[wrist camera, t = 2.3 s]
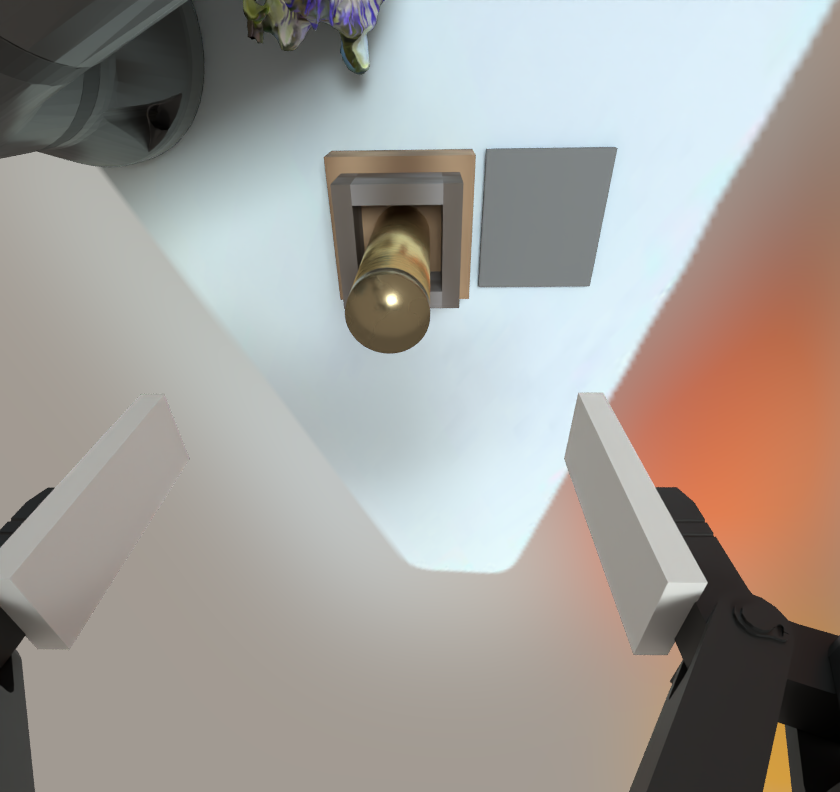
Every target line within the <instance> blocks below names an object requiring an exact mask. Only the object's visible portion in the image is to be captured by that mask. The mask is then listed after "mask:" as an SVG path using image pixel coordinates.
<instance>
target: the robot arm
mask: <svg viewBox="0 0 840 792" xmlns="http://www.w3.org/2000/svg"><path fill="white" fill-rule="evenodd" d="M203 79H204V56H203V46H202V39H201V34H200V29H199V24H198V20H197V17H196V13H195V10H194V7H193V4H192V1H191V0H0V158H6V157H11V156H16V155H21V154H26V153H31V152H35V151H38V152H41V153H45V154H48V155H52V156H55V157H59V158H63V159H66V160H70V161H73V162H77V163H81V164H86V165H91V166H101V167H116V166H125V165H130V164H134V163H138V162H141V161H145V160H148V159H151V158H154V157H156V156H158V155H160V154H162V153H164V152H166V151H167V150H169V149H170V148H171V147H173V146H174V145H175V144H176V143H177V142H178V141H179V140H180V139H181V138H182V137H183V135H184V134H185V133H186V131H187V130H188V128H189V127H190V125H191V123H192V121H193V119H194V117H195V115H196V112H197V109H198V106H199V103H200V99H201V94H202V88H203ZM189 459H190V458H189V455H188V453H187V450H186V448H185V445H184V443H183V440H182V438H181V435H180V432H179V430H178V427H177V425H176V422H175V420H174V417H173V415H172V412H171V410H170V407H169V404H168V402H167V399H166V397H165V394H140V396H139V397H138V398H137V399H136V400H135V401H134V402H133V403H132V404H131V405H130V407H129V408H128V409H127V410H126V411H125V412H124V413H123V414H122V415H121V416H120V417H119V419H118V420H117V421H116V422H115V423H114V424H113V425H112V426H111V428H109V429H108V431H107V432H106V433H105V434H104V435H103V436H102V437H101V438H100V439H99V440H98V441H97V443H96V444H95V445H94V446H93V447H92V448H91V449H90V450H89V451H88V452H87V453H86V455H85V456H84V457H83V458H82V459H81V460H80V461H79V462H78V463H77V464H76V466H75V467H74V468H73V469H72V470H71V471H70V472H69V473H68V475H67V476H66V477H65V478H64V479H63V480H62V481H61V482H60V483H59V484H58V485H57V486H56V488H47V489H45V490H44V491H42V492H41V493H39V494H38V495H36V496H35V497H33V498H32V499H30V500H29V501H27V502H26V503H25V504H24V506H22V507H21V509H19V511H18V512H17V513H16V514H15V515H14V516H13V517H12V518H11V521H10V522H7V523H6V524H5V525H4V526H3V527H2V529H0V792H35V789H34V779H33V769H32V759H31V749H30V739H29V730H28V719H27V709H26V700H25V690H24V680H23V670H22V660H21V657H20V655H19V653H18V652H17V650H16V648H17V646H18V645H19V644H20V642H21V641H22V639H23V638H24V636H26V637H27V638H28V639H29V640H30V641H31V642H32V643H33V644H34V646H35V647H36V648H37V649H70V648H71V646H72V645H73V643H74V642H75V640H76V639H77V637H78V635H79V634H80V632H81V631H82V629H83V627H84V626H85V624H86V623H87V621H88V620H89V618H90V616H91V614H92V613H93V612H94V610H95V608H96V607H97V605H98V604H99V602H100V600H101V599H102V597H103V596H104V594H105V593H106V591H107V589H108V588H109V586H110V585H111V583H112V581H113V580H114V578H115V577H116V575H117V573H118V572H119V570H120V569H121V567H122V565H123V564H124V562H125V561H126V559H127V558H128V556H129V554H130V553H131V551H132V550H133V548H134V547H135V545H136V543H137V542H138V540H139V539H140V537H141V535H142V534H143V532H144V531H145V529H146V527H147V526H148V524H149V523H150V521H151V520H152V518H153V516H154V515H155V513H156V512H157V510H158V508H159V507H160V505H161V504H162V502H163V501H164V499H165V497H166V496H167V494H168V492H169V491H170V489H171V488H172V486H173V485H174V483H175V481H176V480H177V478H178V477H179V475H180V474H181V472H182V470H183V469H184V467H185V466H186V464H187V462H188V461H189ZM564 459H565V462H566V465H567V468H568V471H569V474H570V476H571V479H572V482H573V485H574V487H575V491H576V493H577V496H578V499H579V502H580V504H581V507H582V510H583V513H584V516H585V519H586V522H587V524H588V527H589V530H590V533H591V536H592V539H593V541H594V544H595V547H596V550H597V552H598V556H599V558H600V561H601V564H602V567H603V570H604V572H605V575H606V578H607V581H608V584H609V587H610V589H611V592H612V595H613V598H614V601H615V604H616V606H617V609H618V612H619V615H620V618H621V621H622V623H623V626H624V629H625V632H626V635H627V637H628V640H629V643H630V646H631V649H632V652H633V654H634V655H668V653H669V652H670V650H671V648H672V646H673V644H674V643H675V642H676V644H677V646H678V648H679V651H680V653H681V655H682V658H683V661H682V662H681V664H680V666H679V667H678V669H677V671H676V672H675V674H674V675H673V677H672V679H671V680H670V682H671V683H672V686H671V688H670V691H669V694H668V696H667V698H666V701H665V703H664V706H663V708H662V711H661V713H660V716H659V718H658V721H657V723H656V726H655V729H654V731H653V733H652V736H651V738H650V741H649V743H648V746H647V748H646V751H645V753H644V756H643V758H642V761H641V763H640V766H639V768H638V771H637V773H636V776H635V778H634V781H633V783H632V786H631V788H630V791H629V792H763V787H764V783H765V779H766V774H767V769H768V764H769V760H770V755H771V751H772V745H773V741H774V736H775V732H776V728H777V723H778V722H779V723H782V724H785V730H786V739H787V748H788V758H789V767H790V776H791V786H792V792H840V635H839V636H837V635H834V634H830V633H827V632H824V631H820V630H817V629H813V628H809V627H806V626H803V625H799V624H796V623H794V622H791V621H788V620H787V619H786V617H785V616H784V615H783V614H782V613H781V612H780V611H779V610H778V609H777V608H776V607H775V606H773V605H772V604H770V603H769V602H767V601H765V600H764V599H763V598H760V597H758V596H755V595H753V594H752V593H751V592H750V591H749V589H748V588H747V586H746V585H745V583H744V581H743V580H742V578H741V577H740V575H739V574H738V572H737V570H736V569H735V567H734V565H733V564H732V562H731V561H730V559H729V557H728V556H727V554H726V553H725V551H724V549H723V548H722V546H721V545H720V543H719V541H718V540H717V538H716V537H714V536H713V532H712V530H711V529H710V527H709V525H708V524H707V523H705V519H704V517H703V516H702V514H701V513H700V511H699V509H698V508H697V506H696V505H695V503H694V502H693V501H692V500H691V499H690V498H689V497H687V496H686V495H685V494H684V493H682V491H680V490H679V489H678V488H676V487H672V488H671V487H668V488H667V487H666V488H665V487H655V486H654V484H653V483H652V481H651V479H650V477H649V475H648V473H647V472H646V470H645V469H644V466H643V464H642V462H641V461H640V459H639V457H638V455H637V453H636V452H635V450H634V448H633V446H632V445H631V443H630V441H629V439H628V437H627V436H626V433H625V432H624V430H623V428H622V426H621V424H620V423H619V421H618V419H617V417H616V415H615V414H614V412H613V410H612V408H611V406H610V404H609V403H608V401H607V399H606V397H605V395H604V394H603V393H578V396H577V401H576V406H575V411H574V415H573V420H572V425H571V429H570V434H569V439H568V443H567V448H566V453H565V458H564Z"/></svg>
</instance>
